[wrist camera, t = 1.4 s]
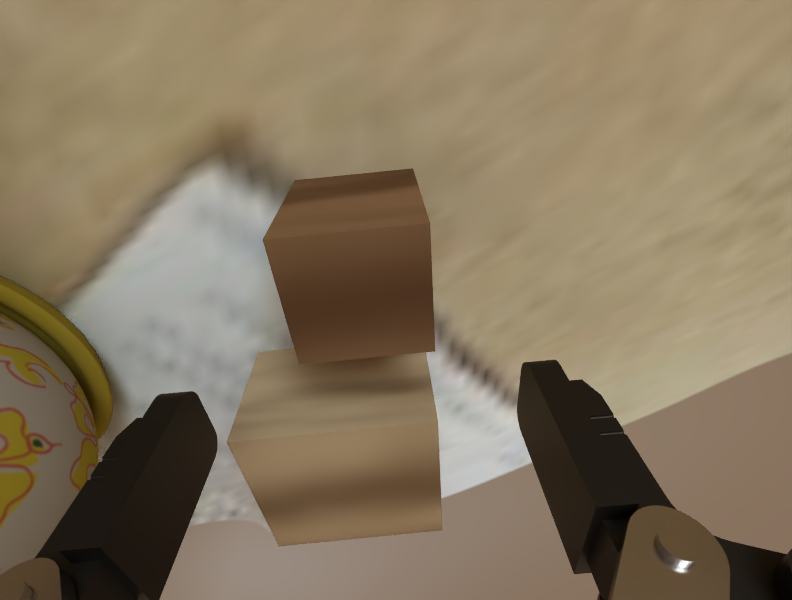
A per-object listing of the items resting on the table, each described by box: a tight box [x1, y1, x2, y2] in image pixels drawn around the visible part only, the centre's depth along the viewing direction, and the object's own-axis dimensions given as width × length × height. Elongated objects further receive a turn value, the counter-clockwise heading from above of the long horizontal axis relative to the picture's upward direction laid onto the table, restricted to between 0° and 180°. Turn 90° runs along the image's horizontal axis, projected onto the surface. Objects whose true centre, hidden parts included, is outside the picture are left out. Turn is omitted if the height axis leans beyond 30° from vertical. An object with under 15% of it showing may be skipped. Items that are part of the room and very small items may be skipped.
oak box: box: [227, 348, 442, 546], centre depth 22 cm, size 9×9×6 cm
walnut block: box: [263, 169, 435, 365], centre depth 16 cm, size 5×5×6 cm
